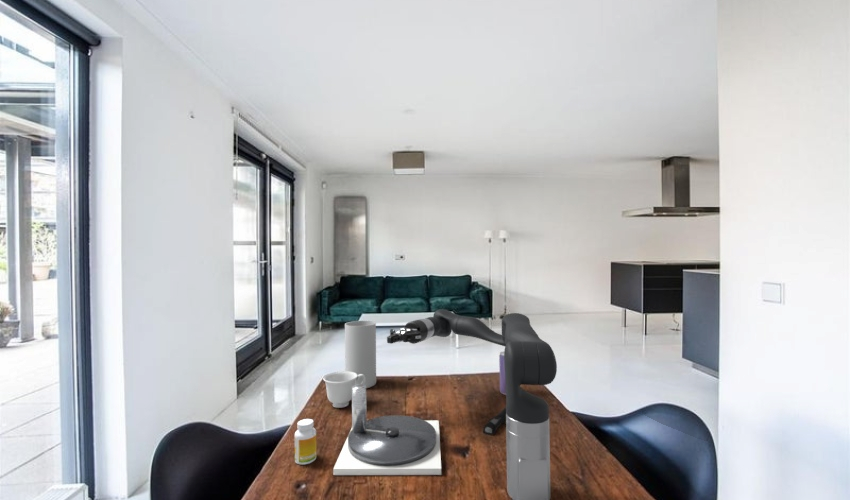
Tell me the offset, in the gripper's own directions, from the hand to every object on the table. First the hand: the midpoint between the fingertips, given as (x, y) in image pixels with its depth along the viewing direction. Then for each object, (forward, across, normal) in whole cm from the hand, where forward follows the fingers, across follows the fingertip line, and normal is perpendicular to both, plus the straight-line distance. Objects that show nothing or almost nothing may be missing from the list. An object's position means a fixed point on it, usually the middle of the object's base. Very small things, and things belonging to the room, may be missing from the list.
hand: (388, 340), depth 116 cm
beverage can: (-45, -22, -26) cm, 57 cm away
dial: (+10, -9, -25) cm, 28 cm away
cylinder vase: (-23, +33, -26) cm, 48 cm away
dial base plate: (+10, -9, -26) cm, 30 cm away
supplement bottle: (+27, +7, -27) cm, 38 cm away
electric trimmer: (-18, -28, -27) cm, 43 cm away
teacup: (-5, +24, -26) cm, 36 cm away
